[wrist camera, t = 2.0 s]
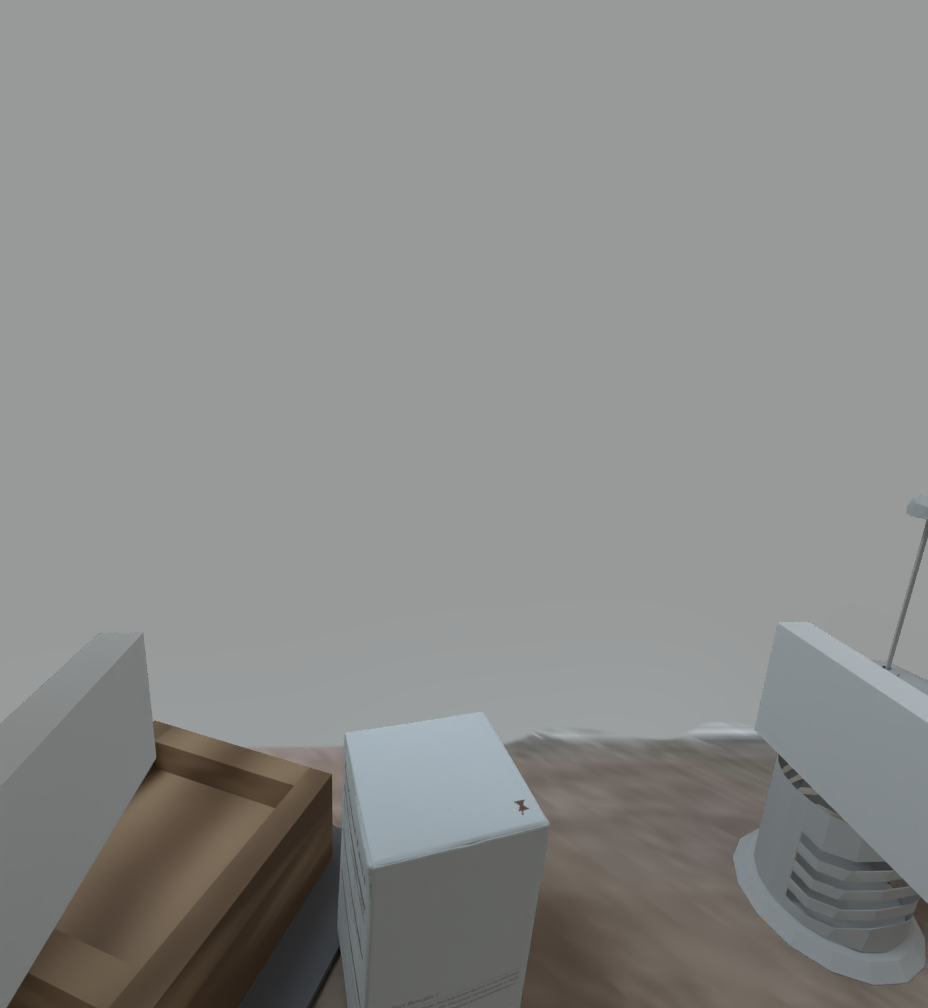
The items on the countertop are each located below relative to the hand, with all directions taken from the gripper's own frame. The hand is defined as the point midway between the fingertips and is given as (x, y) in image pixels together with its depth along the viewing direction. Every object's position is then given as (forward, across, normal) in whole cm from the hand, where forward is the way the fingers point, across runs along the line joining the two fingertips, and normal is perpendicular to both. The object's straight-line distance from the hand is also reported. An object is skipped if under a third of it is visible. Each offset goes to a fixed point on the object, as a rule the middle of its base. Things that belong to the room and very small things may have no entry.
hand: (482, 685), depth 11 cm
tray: (+14, -14, -23) cm, 30 cm away
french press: (+12, +25, -24) cm, 37 cm away
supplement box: (+10, 0, -23) cm, 25 cm away
